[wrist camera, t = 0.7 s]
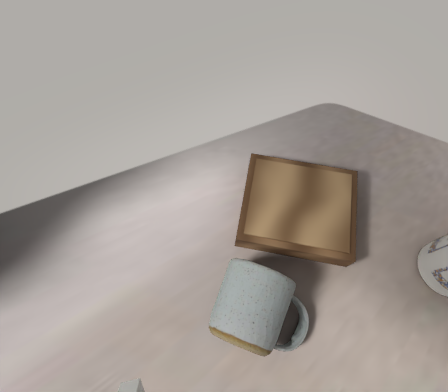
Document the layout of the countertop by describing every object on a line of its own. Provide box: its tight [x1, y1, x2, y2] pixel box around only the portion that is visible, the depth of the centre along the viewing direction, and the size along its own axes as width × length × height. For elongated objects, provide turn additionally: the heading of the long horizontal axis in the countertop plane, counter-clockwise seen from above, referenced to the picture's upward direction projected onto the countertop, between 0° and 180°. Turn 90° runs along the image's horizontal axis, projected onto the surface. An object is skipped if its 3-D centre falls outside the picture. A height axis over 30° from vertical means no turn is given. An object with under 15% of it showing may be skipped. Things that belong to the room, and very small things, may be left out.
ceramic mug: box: [209, 258, 309, 356], centre depth 33 cm, size 11×8×8 cm
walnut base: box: [235, 153, 357, 267], centre depth 40 cm, size 14×12×3 cm
